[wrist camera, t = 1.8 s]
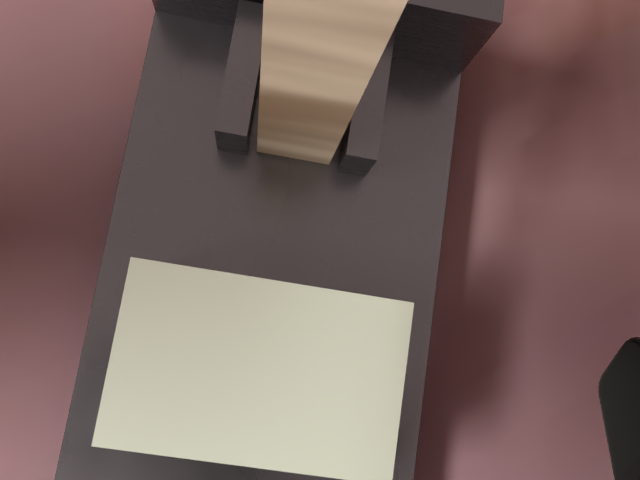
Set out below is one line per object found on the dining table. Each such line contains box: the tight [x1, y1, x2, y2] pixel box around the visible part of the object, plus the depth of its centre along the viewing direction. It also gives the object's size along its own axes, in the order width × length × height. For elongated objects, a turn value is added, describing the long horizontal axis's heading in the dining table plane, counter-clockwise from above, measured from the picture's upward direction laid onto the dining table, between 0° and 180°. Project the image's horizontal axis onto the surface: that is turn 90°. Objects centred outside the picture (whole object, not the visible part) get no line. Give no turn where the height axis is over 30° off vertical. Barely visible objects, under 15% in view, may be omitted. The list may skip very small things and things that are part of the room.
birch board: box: [257, 0, 408, 165], centre depth 15 cm, size 4×2×11 cm, turn 171°
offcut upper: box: [91, 257, 414, 480], centre depth 17 cm, size 5×8×2 cm, turn 82°
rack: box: [54, 0, 504, 480], centre depth 19 cm, size 18×11×5 cm, turn 171°
